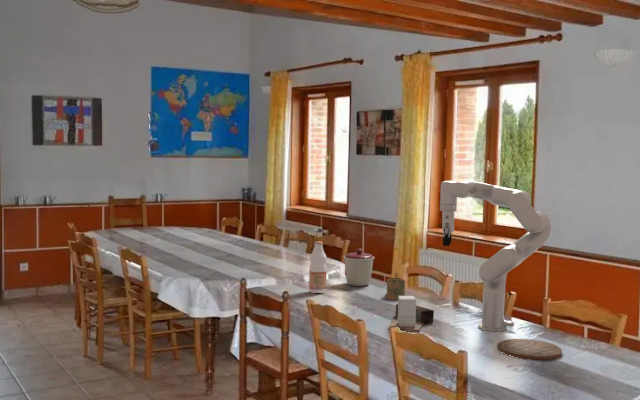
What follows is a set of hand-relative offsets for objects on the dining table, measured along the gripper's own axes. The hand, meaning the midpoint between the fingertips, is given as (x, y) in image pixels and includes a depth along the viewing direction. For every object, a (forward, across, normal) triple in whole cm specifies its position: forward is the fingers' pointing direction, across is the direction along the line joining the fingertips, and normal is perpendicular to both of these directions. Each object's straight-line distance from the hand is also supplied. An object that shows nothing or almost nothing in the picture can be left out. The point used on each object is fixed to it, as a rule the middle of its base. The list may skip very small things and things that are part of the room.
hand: (447, 244), depth 333 cm
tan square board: (+36, -17, +16) cm, 43 cm away
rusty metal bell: (+36, +48, +30) cm, 67 cm away
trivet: (+37, -38, -37) cm, 64 cm away
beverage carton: (+37, -1, +14) cm, 39 cm away
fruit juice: (+36, +42, +72) cm, 91 cm away
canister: (+36, +70, +55) cm, 96 cm away
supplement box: (+35, -17, +16) cm, 42 cm away
